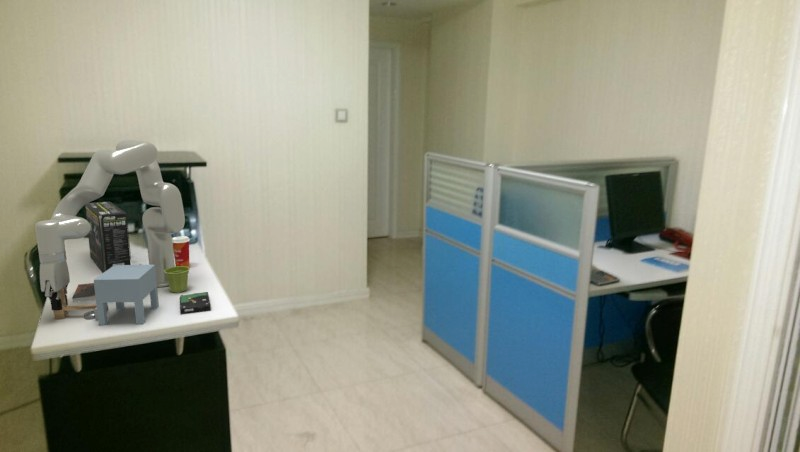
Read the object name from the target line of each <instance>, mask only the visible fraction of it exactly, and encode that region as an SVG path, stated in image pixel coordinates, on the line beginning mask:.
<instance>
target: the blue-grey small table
mask: <svg viewBox="0 0 800 452" xmlns="http://www.w3.org/2000/svg"><path fill="white" fill-rule="evenodd" d="M93 283H94V288H95V297H96V300H95V304H96V305H97V313H98V319H97V320H98V326H107V324H108V313H107V312H108V311H106V303H109V304H110V303H112V304H113V303H115V308H116V309H115V310H124V308H125V303H134V313H135V323H136V325H144V323H145V322H146V321H145V320H146V319H145V309H144V299H146V297H148V295H149V298H150V308H151V309H154V310H155V309H158V308H159V307H160V303H159V292H158V287H157V280H156V269H155V265H149V264H131V265H114V266H112V267H111V268H110V269H108V270H107V271H105V272H104V273H103V272H102V273H101V274H100V275H98V276H97V277H95V278H94V279H93ZM151 309H150V310H151Z"/></svg>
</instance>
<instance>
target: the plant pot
mask: <svg viewBox="0 0 800 452" xmlns="http://www.w3.org/2000/svg"><path fill="white" fill-rule="evenodd" d="M164 273H166V276H167V279H168V283H169V286H168V287H169V290H170V292H172V293H174V294H175V293H176V294H178V293H183V292H186V291H187V290H188V279H189V278H188V277H189V274H190V266H189V267H185V266H177V267H176V266H175V267H171V268H168V269H166V270H164Z"/></svg>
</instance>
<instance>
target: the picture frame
mask: <svg viewBox="0 0 800 452" xmlns="http://www.w3.org/2000/svg"><path fill="white" fill-rule="evenodd" d="M87 300H89V301H96V297H95V288H94V282H90V283H82V284H81V283H80V284H77V287H76V289H75V291H74V293H73V294H72V297H71V302H72V303H79V302H78V301H80V302H87Z"/></svg>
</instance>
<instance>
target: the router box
mask: <svg viewBox="0 0 800 452" xmlns="http://www.w3.org/2000/svg"><path fill="white" fill-rule="evenodd" d="M84 207H85V214H86V215H85V216H86V217H85V218H86V220H87V221H88V222H89V224H90V226H91V229H90V232H89V233H88V235H87V236H88V248H89V256H90V259H91V260H92V261H93V262H94V264H95V265H96V266H97V268H99V270H100V271H101V272H102V274H103V273H104V272H105V271H107V270H108V269H110V268H111V267H112V266H114V265H132V264H131V260H132V255H131V251H130V250H131V245H130V235H129V224H128V223H129V222H128V216H127V212H125V211H124V210H122V209H121V208H120V207H118V206H117V205H115V204H114V202H113V203H112V202H111V201H102V202H100V201H99V202H98V201H97V202H89V203H87V204H86V205H84Z"/></svg>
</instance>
